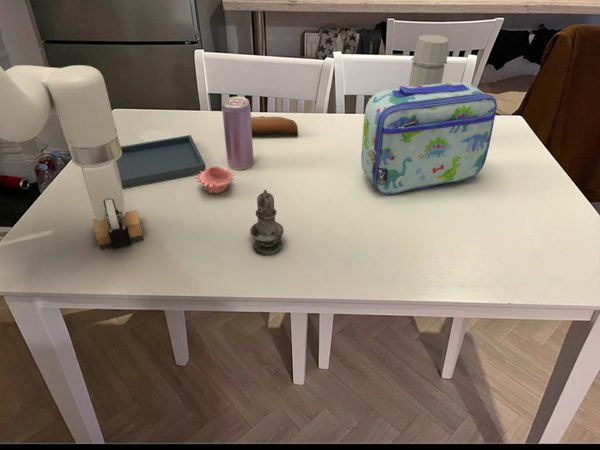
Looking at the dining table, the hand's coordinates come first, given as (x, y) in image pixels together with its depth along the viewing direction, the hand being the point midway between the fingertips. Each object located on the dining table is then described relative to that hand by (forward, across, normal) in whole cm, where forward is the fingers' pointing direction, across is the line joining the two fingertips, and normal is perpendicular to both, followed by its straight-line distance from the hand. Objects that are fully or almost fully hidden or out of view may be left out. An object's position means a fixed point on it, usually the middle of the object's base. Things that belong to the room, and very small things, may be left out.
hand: (120, 236), depth 84 cm
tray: (0, -25, +9) cm, 27 cm away
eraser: (0, 0, 0) cm, 0 cm away
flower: (+1, -9, +20) cm, 22 cm away
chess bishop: (+1, +12, +24) cm, 27 cm away
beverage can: (+1, -18, +28) cm, 33 cm away
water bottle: (0, -13, +72) cm, 73 cm away
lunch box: (0, +3, +62) cm, 62 cm away
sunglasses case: (+1, -32, +38) cm, 50 cm away
